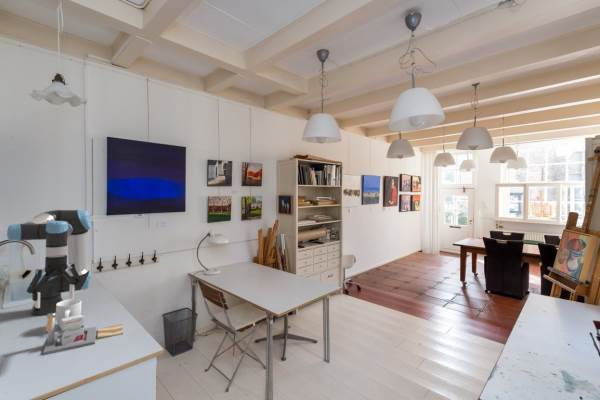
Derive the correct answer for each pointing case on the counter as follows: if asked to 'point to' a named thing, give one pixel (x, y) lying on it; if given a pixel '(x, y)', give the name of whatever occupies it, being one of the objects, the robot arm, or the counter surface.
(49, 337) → the stand
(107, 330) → the pad
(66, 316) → the mug
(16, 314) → the counter surface
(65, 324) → the ink box
